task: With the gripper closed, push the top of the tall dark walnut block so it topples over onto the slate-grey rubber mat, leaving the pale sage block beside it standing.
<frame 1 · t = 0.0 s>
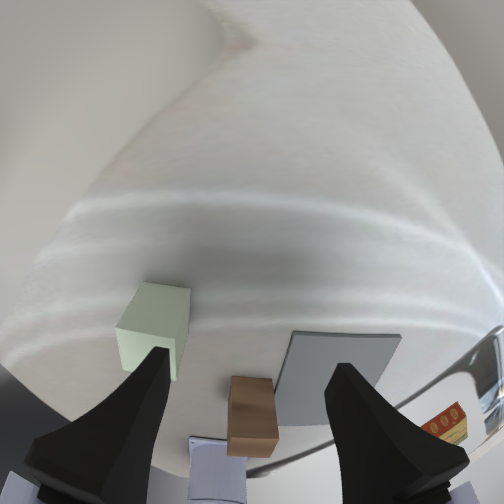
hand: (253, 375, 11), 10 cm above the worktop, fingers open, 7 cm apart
carton: (441, 425, 34), on the worktop
walnut block: (249, 389, 25), on the worktop
sage block: (166, 305, 21), on the worktop
mat: (328, 385, 26), on the worktop
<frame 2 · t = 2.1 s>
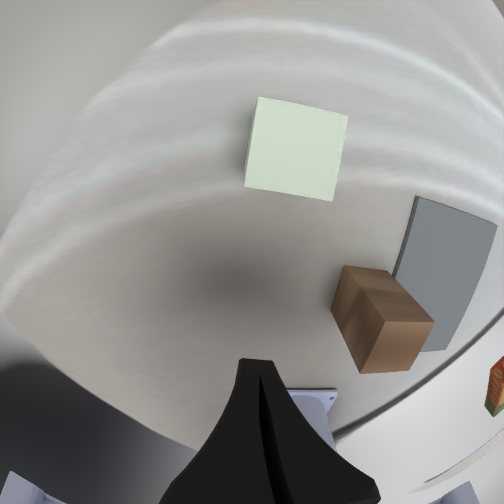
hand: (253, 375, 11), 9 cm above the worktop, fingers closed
carton: (501, 374, 29), on the worktop
walnut block: (359, 290, 20), on the worktop
sage block: (279, 147, 16), on the worktop
mat: (436, 287, 20), on the worktop
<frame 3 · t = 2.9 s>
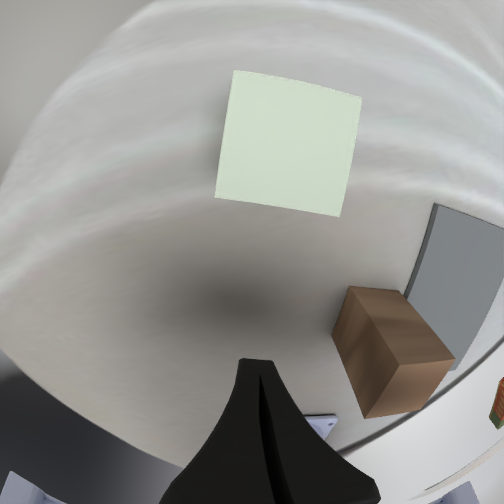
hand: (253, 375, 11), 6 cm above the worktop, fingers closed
walnut block: (365, 313, 17), on the worktop
sage block: (270, 143, 13), on the worktop
mat: (451, 305, 17), on the worktop
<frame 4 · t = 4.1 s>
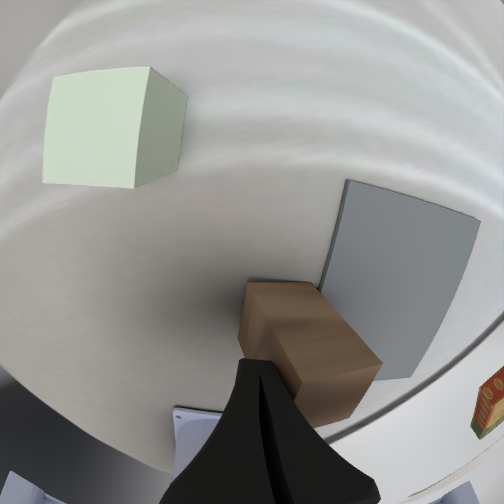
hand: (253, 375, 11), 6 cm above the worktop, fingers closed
carton: (492, 392, 25), on the worktop
walnut block: (273, 311, 16), on the worktop, tilted 14°
sage block: (147, 130, 12), on the worktop
mat: (391, 303, 17), on the worktop
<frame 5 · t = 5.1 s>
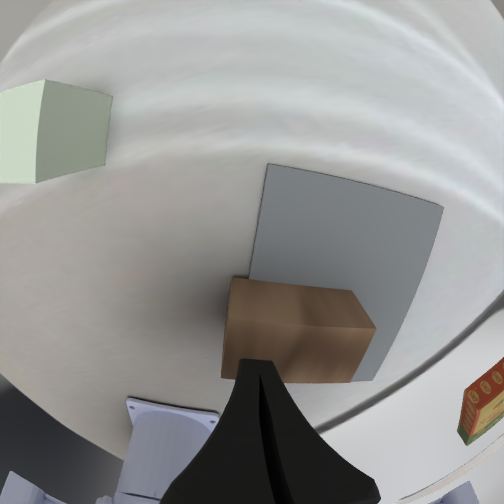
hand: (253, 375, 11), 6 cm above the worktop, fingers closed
carton: (480, 396, 25), on the worktop
walnut block: (226, 326, 14), point 2 cm above the worktop, tilted 90°, touching mat
sage block: (80, 131, 12), on the worktop
mat: (336, 298, 16), on the worktop
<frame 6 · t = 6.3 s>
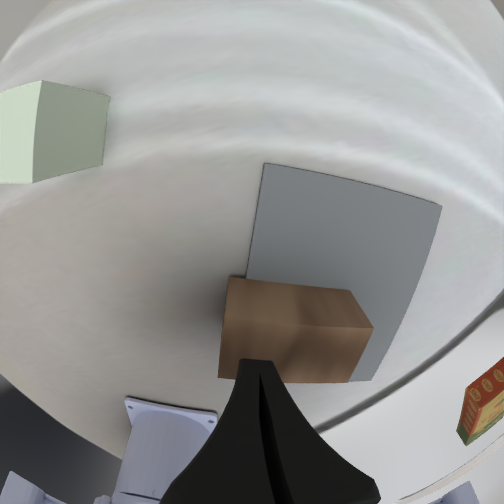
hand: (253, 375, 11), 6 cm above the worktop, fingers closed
carton: (480, 395, 25), on the worktop
walnut block: (223, 326, 14), point 2 cm above the worktop, tilted 90°, touching mat
sage block: (77, 131, 12), on the worktop
mat: (334, 298, 16), on the worktop
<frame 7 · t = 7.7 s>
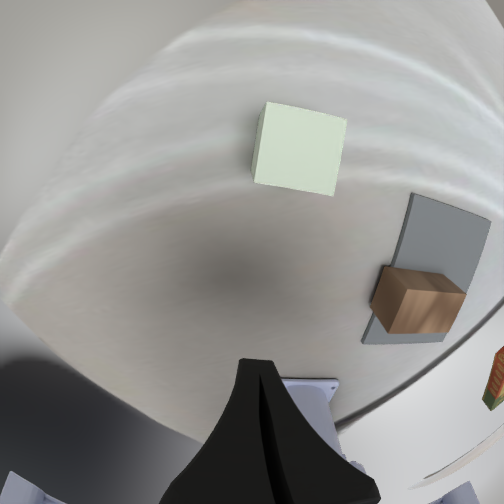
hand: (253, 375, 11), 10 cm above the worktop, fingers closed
carton: (502, 365, 30), on the worktop
walnut block: (386, 299, 19), point 2 cm above the worktop, tilted 90°, touching mat
sage block: (283, 147, 17), on the worktop
mat: (432, 280, 22), on the worktop
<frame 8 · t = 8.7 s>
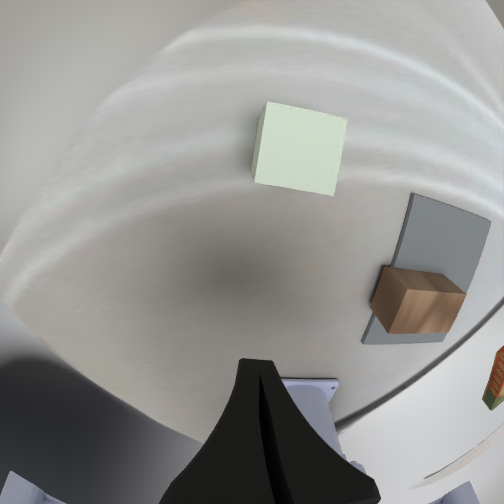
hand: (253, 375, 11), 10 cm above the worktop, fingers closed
carton: (502, 365, 30), on the worktop
walnut block: (386, 299, 19), point 2 cm above the worktop, tilted 90°, touching mat
sage block: (283, 147, 17), on the worktop
mat: (432, 280, 22), on the worktop
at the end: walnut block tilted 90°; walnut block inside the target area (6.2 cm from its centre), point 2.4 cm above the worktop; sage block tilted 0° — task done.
